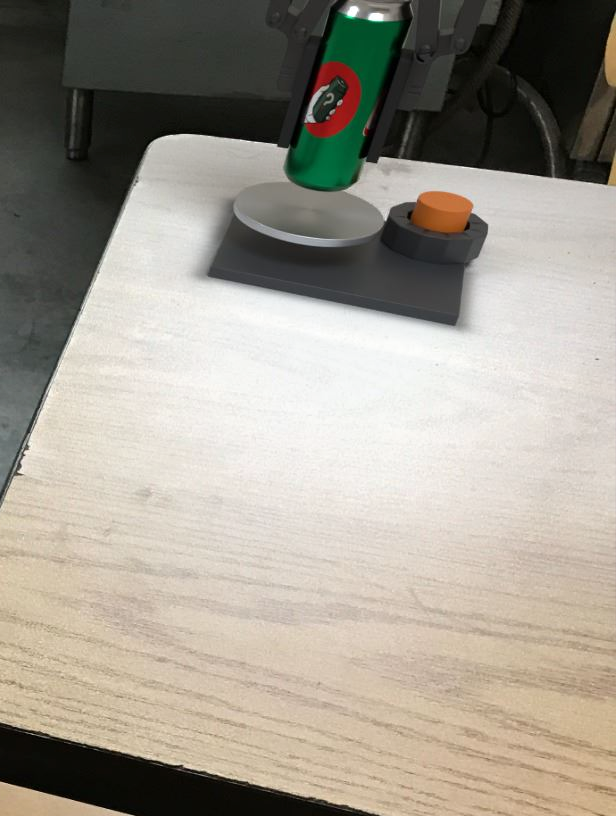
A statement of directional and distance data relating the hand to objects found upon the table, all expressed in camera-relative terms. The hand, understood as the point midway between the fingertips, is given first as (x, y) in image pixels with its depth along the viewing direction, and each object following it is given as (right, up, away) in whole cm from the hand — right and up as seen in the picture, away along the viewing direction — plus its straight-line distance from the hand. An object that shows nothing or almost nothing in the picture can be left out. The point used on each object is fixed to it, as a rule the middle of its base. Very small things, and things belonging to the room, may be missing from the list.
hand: (328, 147), depth 92 cm
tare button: (+9, -4, +4) cm, 11 cm away
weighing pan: (0, -4, +3) cm, 5 cm away
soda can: (0, -2, +2) cm, 2 cm away
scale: (+3, -7, +5) cm, 9 cm away
